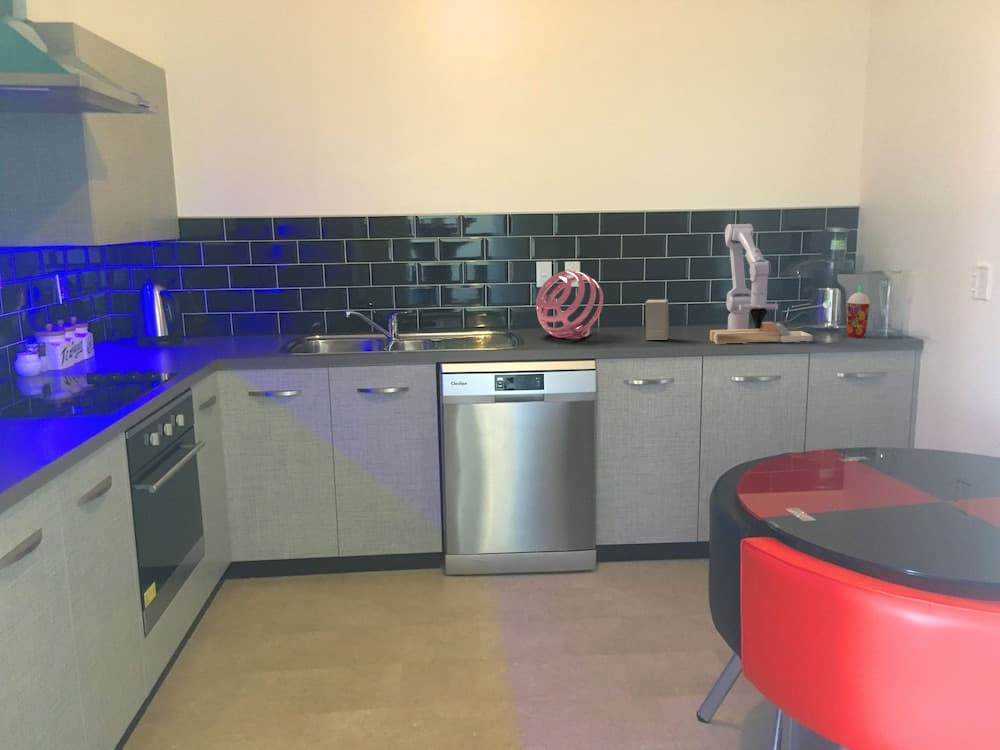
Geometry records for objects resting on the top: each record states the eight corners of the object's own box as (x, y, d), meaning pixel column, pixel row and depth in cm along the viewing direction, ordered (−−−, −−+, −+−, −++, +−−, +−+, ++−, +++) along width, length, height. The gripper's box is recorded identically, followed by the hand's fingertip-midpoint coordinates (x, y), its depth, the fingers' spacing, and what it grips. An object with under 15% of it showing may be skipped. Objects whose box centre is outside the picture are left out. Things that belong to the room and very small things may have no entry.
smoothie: (868, 335, 331) (871, 284, 327) (867, 338, 324) (871, 287, 320) (845, 334, 335) (848, 284, 331) (844, 337, 327) (847, 286, 323)
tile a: (758, 329, 325) (758, 322, 325) (771, 329, 325) (771, 321, 325) (762, 331, 320) (763, 323, 320) (775, 331, 321) (776, 323, 320)
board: (709, 340, 327) (710, 330, 326) (770, 338, 328) (770, 328, 328) (717, 344, 318) (717, 333, 318) (778, 342, 320) (779, 332, 319)
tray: (769, 338, 329) (770, 331, 329) (800, 337, 330) (801, 330, 330) (780, 342, 319) (781, 336, 318) (812, 342, 319) (813, 335, 319)
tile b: (771, 327, 326) (778, 322, 325) (779, 337, 326) (785, 332, 326) (776, 329, 321) (782, 324, 320) (784, 339, 321) (790, 334, 321)
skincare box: (668, 338, 332) (669, 299, 329) (666, 342, 325) (667, 301, 322) (647, 338, 335) (648, 298, 331) (644, 341, 328) (645, 300, 325)
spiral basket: (585, 283, 358) (550, 250, 339) (630, 304, 338) (595, 270, 319) (548, 336, 358) (511, 307, 339) (590, 361, 338) (553, 331, 319)
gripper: (743, 294, 316) (742, 330, 318) (781, 293, 316) (779, 329, 319) (737, 292, 322) (736, 327, 325) (774, 291, 323) (772, 326, 326)
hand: (757, 328), depth 323 cm, fingers closed
